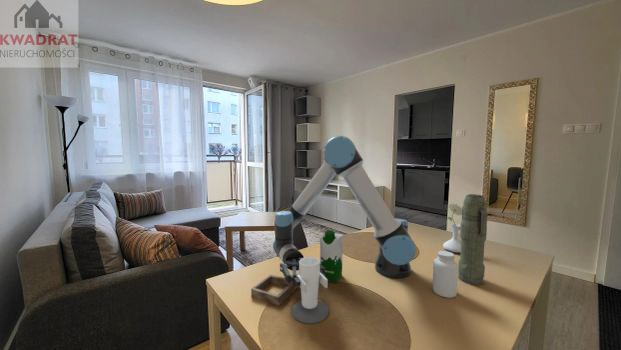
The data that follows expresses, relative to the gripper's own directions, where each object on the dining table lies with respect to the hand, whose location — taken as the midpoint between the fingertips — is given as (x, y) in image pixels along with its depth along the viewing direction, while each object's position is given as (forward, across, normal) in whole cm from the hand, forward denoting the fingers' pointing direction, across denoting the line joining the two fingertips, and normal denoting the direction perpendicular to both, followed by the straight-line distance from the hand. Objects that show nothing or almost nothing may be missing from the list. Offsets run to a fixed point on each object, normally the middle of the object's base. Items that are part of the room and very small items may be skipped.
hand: (316, 286), depth 76 cm
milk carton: (-22, -17, -12) cm, 30 cm away
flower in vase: (-21, -91, -11) cm, 94 cm away
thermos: (+3, -68, -11) cm, 69 cm away
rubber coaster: (-5, 0, -11) cm, 12 cm away
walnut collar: (-21, +8, -11) cm, 25 cm away
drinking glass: (-5, 0, -9) cm, 11 cm away
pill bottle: (+5, -50, -11) cm, 52 cm away
